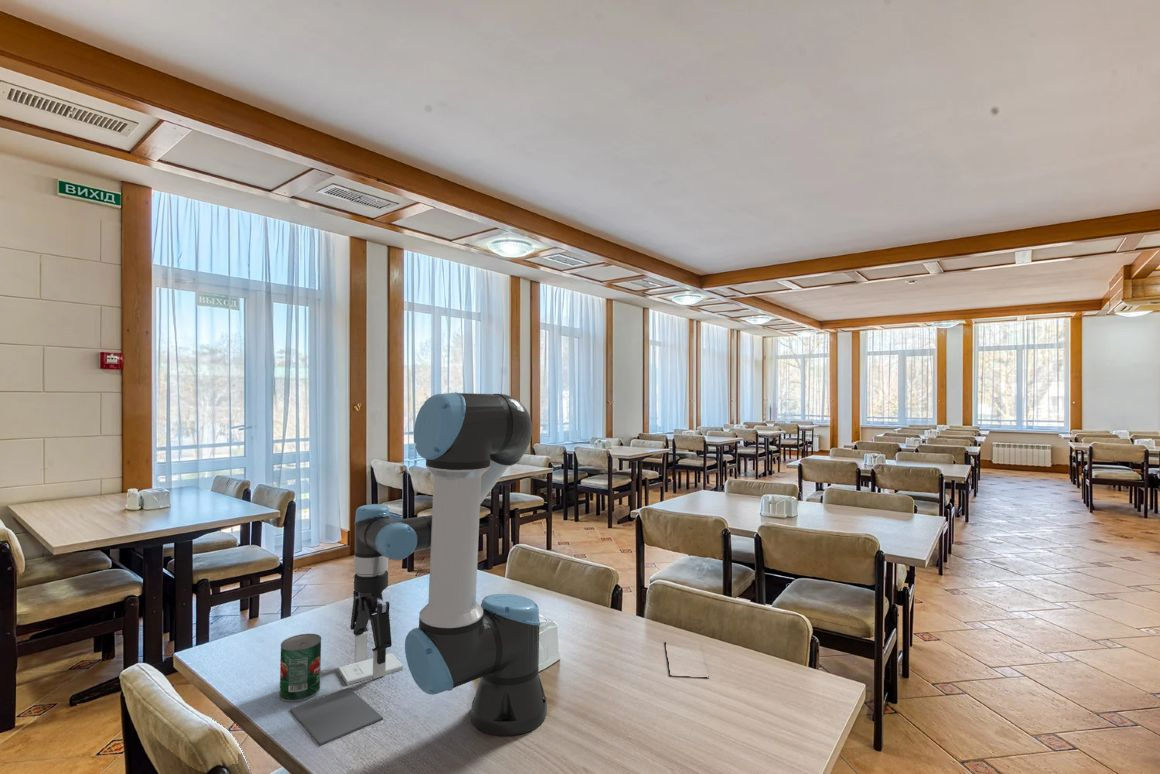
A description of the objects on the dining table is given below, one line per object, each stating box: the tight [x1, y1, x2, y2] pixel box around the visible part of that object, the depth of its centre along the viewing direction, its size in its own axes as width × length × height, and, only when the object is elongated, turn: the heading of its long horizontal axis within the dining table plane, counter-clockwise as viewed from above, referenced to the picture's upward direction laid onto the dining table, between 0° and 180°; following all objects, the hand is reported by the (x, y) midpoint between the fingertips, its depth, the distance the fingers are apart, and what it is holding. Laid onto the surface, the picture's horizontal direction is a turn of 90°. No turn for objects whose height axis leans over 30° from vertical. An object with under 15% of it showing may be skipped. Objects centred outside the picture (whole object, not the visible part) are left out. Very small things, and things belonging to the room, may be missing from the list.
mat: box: [289, 687, 384, 746], centre depth 112 cm, size 16×12×1 cm
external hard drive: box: [337, 652, 404, 686], centre depth 131 cm, size 2×8×12 cm
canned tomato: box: [279, 633, 322, 703], centre depth 121 cm, size 8×8×11 cm
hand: (369, 669), depth 131 cm, fingers open, 9 cm apart
